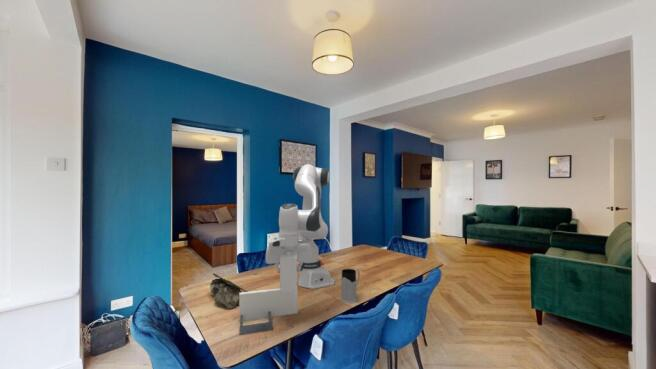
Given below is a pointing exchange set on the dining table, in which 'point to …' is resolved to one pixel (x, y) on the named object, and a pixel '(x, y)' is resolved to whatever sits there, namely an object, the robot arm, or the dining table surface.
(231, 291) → the hollow geode rock
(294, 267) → the milk carton
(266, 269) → the dining table surface
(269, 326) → the cleat bracket
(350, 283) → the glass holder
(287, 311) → the wall board
